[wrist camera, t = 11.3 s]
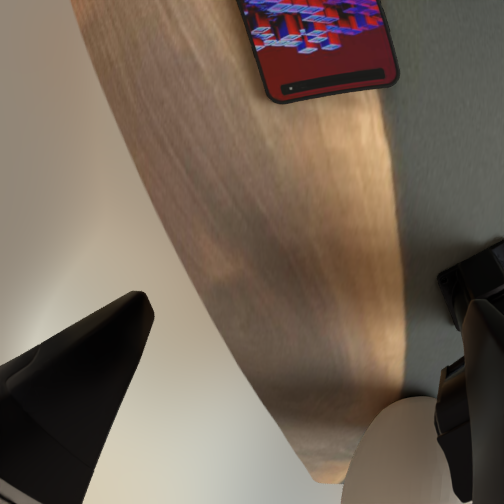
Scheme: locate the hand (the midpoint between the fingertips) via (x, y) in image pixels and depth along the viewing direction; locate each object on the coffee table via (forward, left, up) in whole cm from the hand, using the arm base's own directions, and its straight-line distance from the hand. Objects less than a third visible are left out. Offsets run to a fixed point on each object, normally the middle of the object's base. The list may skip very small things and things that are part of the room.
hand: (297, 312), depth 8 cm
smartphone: (+10, -6, -13) cm, 17 cm away
